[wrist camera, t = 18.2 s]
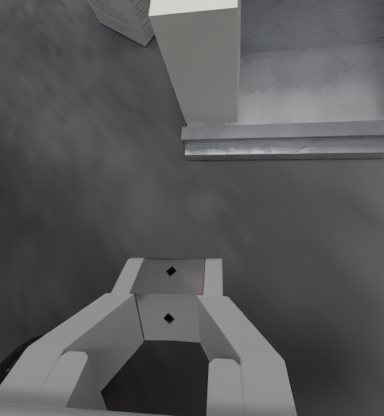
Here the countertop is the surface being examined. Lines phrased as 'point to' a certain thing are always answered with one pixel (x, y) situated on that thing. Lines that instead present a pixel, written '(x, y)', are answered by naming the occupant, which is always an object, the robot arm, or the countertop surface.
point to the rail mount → (303, 84)
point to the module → (201, 55)
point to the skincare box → (126, 18)
